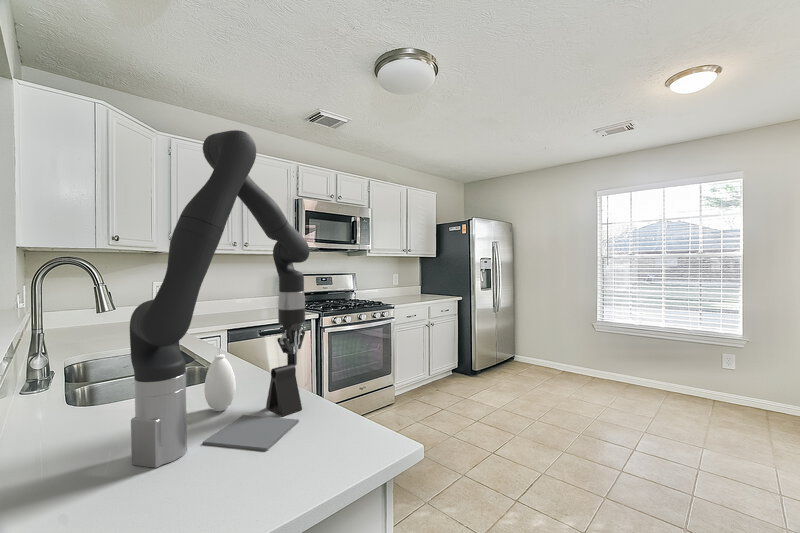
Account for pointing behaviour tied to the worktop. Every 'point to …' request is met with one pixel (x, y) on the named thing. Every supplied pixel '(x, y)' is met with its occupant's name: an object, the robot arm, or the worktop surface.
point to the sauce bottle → (220, 384)
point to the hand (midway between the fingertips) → (292, 365)
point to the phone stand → (283, 391)
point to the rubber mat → (252, 432)
